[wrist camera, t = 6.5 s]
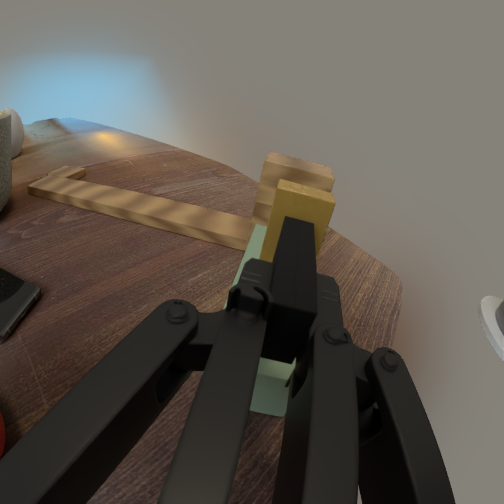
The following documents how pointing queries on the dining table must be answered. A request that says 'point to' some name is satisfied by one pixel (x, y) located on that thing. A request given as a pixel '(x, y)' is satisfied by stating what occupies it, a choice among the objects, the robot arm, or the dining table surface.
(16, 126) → the decorative egg
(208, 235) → the wooden beam with block
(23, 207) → the dining table surface
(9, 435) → the dining table surface
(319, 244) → the bolt
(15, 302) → the smartphone
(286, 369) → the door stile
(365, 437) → the robot arm
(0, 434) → the apple
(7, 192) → the planter
